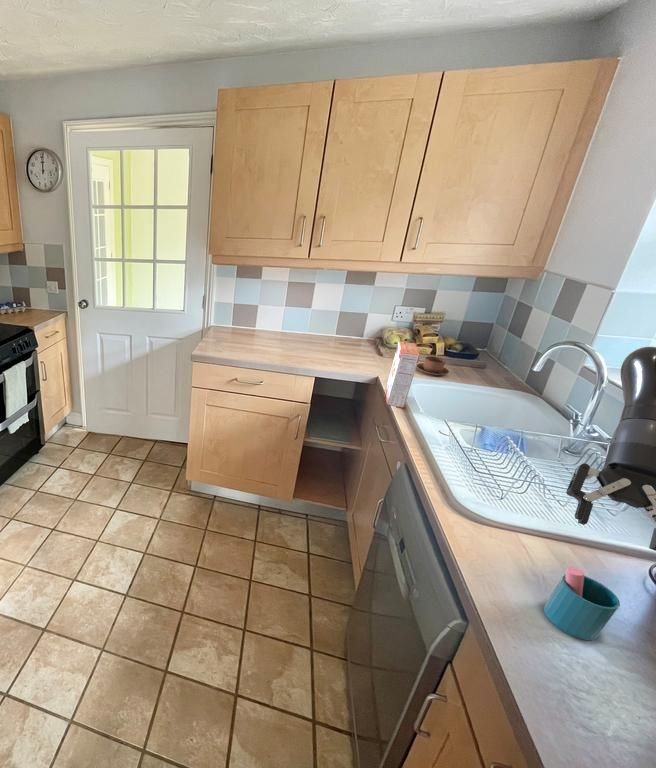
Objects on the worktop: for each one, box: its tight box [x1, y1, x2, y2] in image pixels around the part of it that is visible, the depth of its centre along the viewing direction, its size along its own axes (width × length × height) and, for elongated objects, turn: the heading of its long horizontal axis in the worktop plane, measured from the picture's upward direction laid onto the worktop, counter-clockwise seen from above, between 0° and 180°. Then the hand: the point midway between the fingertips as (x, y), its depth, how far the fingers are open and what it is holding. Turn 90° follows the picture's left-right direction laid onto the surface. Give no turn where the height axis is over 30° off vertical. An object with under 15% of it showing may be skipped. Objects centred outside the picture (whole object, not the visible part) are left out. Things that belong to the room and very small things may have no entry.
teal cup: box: [543, 573, 621, 641], centre depth 73 cm, size 7×7×8 cm
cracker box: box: [385, 341, 420, 409], centre depth 152 cm, size 14×6×21 cm, turn 154°
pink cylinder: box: [565, 566, 585, 597], centre depth 73 cm, size 2×2×10 cm
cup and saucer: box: [416, 356, 450, 376], centre depth 180 cm, size 12×12×6 cm
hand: (617, 535), depth 69 cm, fingers open, 8 cm apart
